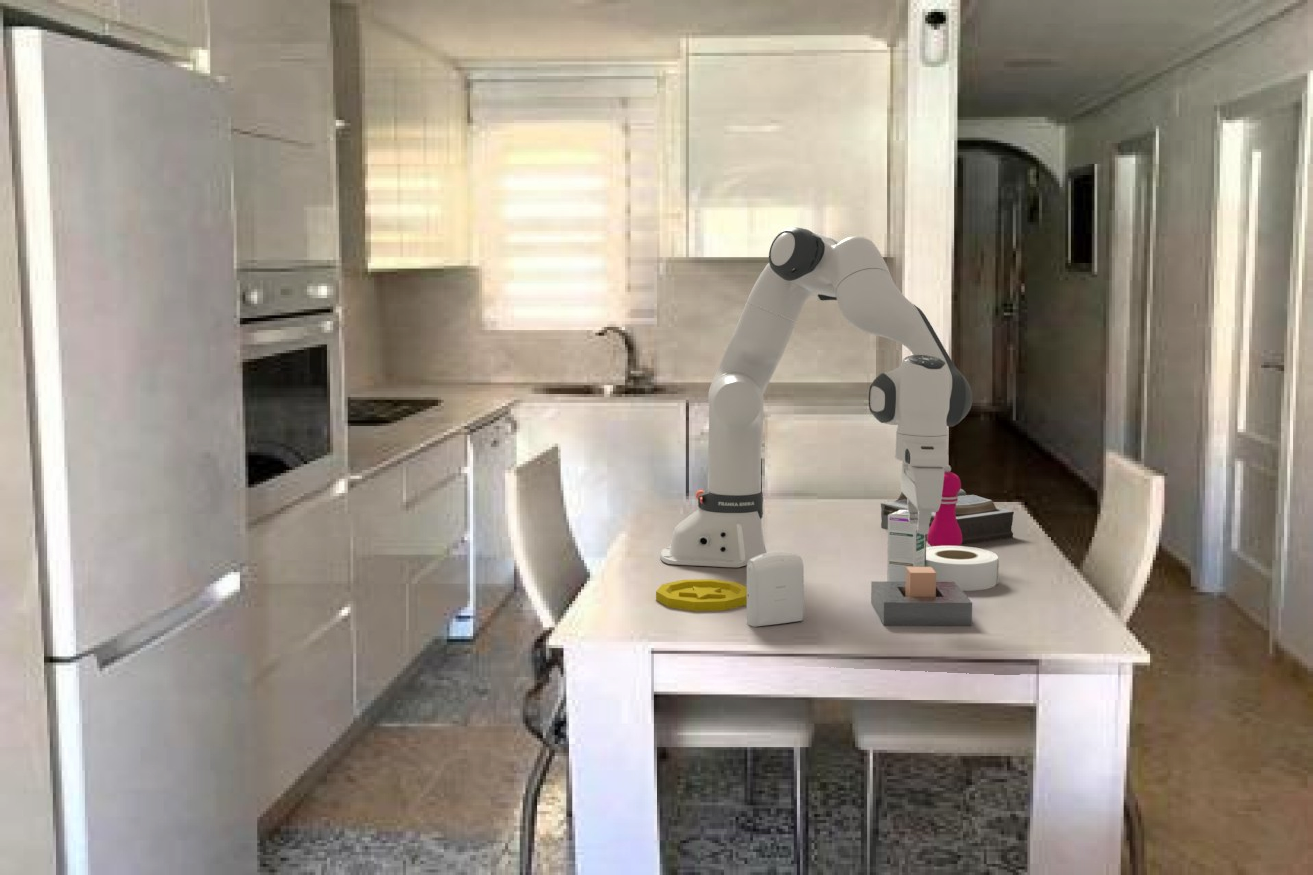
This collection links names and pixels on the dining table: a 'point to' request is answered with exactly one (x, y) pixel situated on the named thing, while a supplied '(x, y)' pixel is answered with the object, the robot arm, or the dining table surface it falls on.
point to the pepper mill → (946, 514)
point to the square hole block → (921, 605)
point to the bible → (966, 517)
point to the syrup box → (904, 546)
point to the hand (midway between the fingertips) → (918, 528)
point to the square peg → (920, 582)
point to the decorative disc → (702, 595)
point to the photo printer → (775, 589)
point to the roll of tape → (964, 566)
